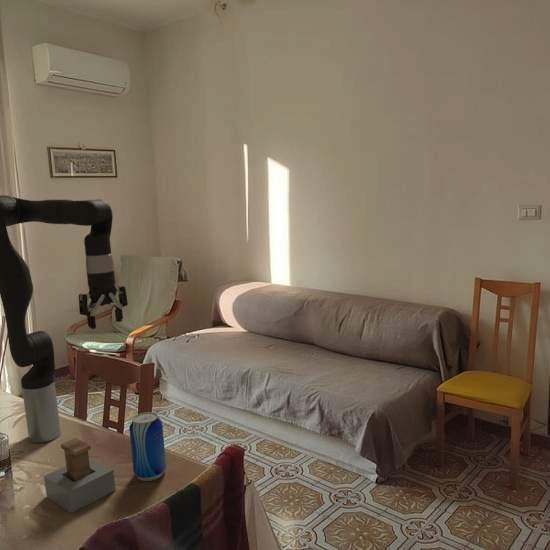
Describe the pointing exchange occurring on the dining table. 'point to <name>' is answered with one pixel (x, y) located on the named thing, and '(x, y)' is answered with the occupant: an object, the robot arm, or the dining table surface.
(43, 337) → the robot arm
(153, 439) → the beer can
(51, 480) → the well block
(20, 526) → the dining table surface
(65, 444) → the tall wooden block
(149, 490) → the dining table surface
